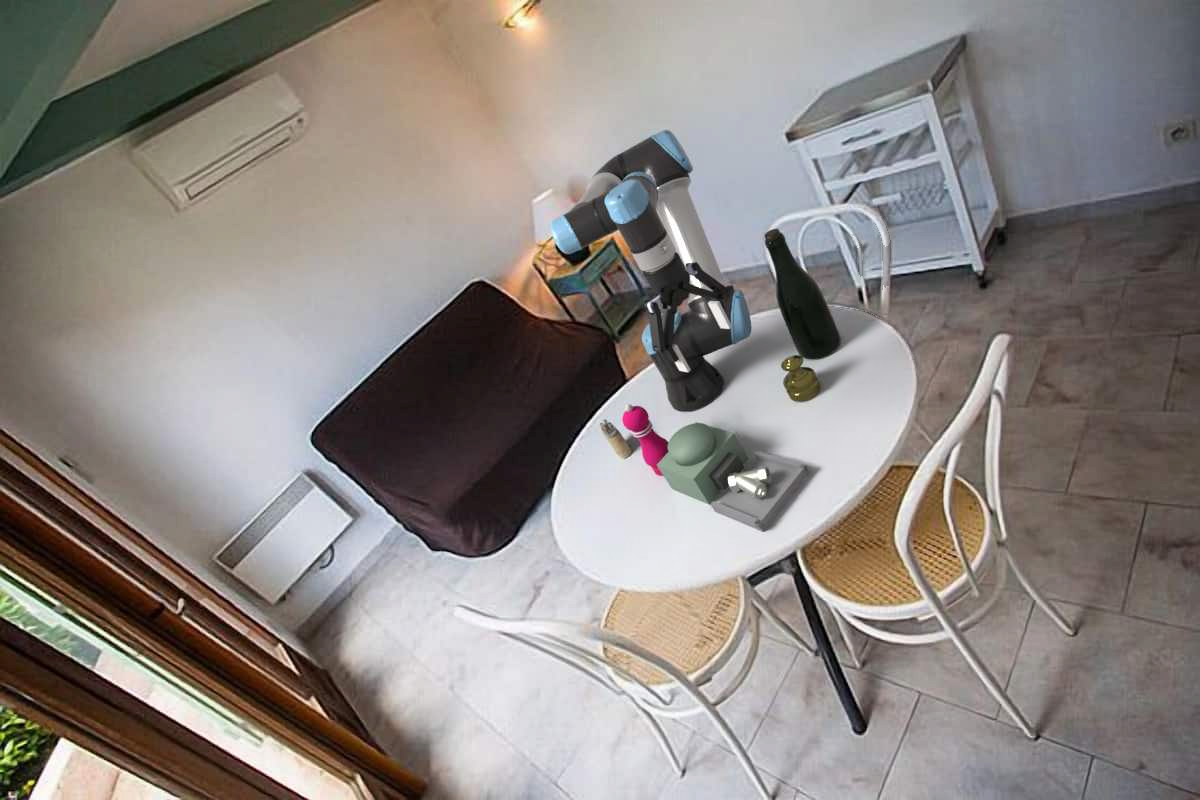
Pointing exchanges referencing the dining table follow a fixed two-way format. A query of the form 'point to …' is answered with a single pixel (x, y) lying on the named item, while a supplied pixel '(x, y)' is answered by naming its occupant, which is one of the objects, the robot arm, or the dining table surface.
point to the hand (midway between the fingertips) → (706, 348)
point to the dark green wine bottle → (801, 302)
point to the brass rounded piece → (799, 380)
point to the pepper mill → (645, 436)
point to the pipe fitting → (751, 481)
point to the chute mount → (778, 492)
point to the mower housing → (702, 461)
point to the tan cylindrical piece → (615, 439)
